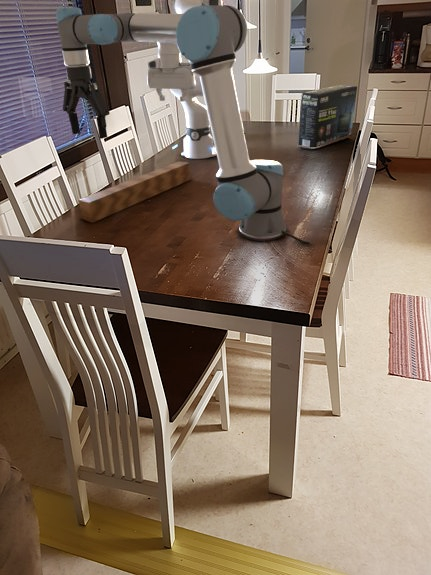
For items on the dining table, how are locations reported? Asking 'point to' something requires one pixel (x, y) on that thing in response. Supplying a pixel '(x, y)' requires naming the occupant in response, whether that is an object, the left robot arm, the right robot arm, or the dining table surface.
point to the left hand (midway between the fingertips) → (172, 100)
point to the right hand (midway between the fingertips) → (89, 135)
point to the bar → (133, 191)
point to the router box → (326, 115)
